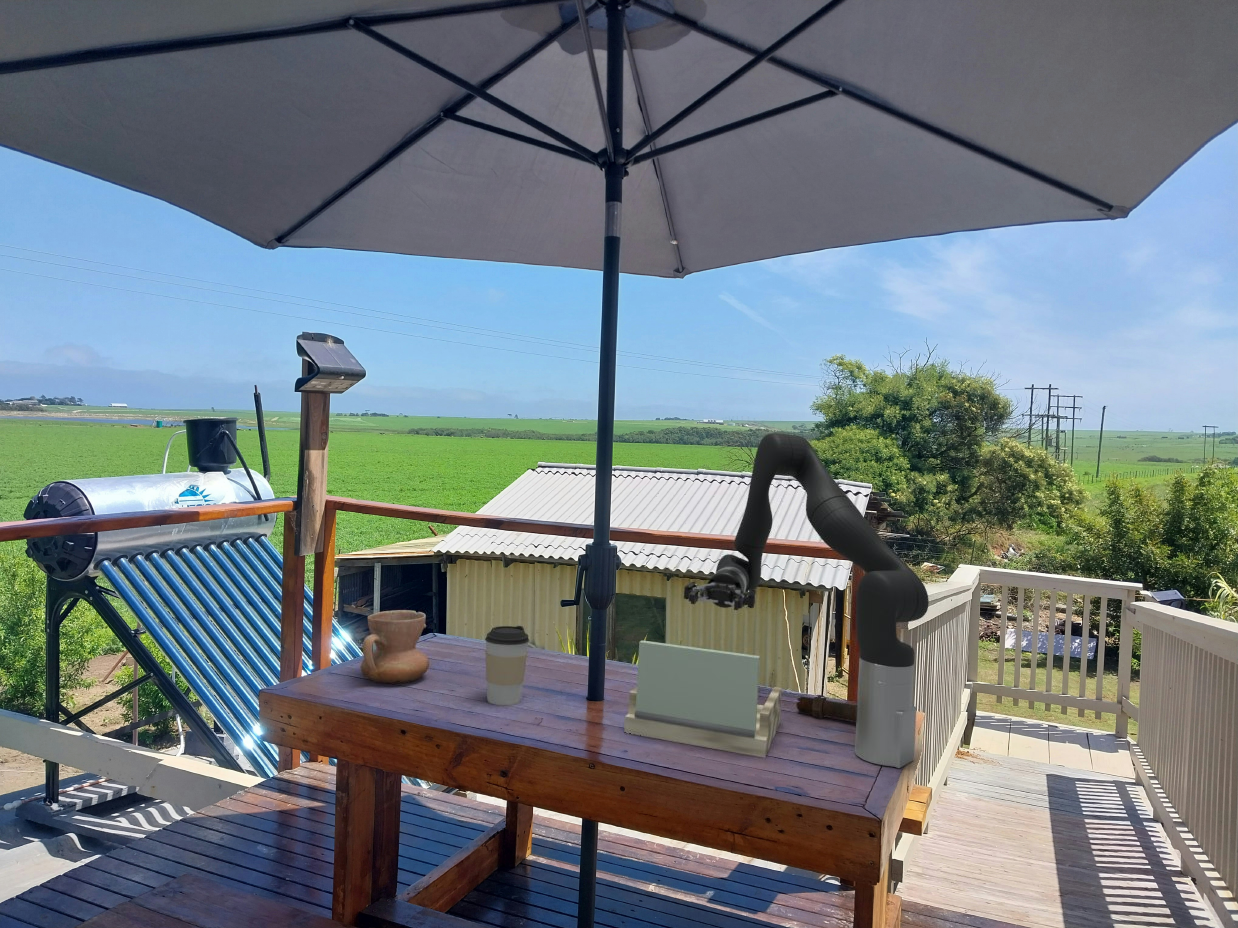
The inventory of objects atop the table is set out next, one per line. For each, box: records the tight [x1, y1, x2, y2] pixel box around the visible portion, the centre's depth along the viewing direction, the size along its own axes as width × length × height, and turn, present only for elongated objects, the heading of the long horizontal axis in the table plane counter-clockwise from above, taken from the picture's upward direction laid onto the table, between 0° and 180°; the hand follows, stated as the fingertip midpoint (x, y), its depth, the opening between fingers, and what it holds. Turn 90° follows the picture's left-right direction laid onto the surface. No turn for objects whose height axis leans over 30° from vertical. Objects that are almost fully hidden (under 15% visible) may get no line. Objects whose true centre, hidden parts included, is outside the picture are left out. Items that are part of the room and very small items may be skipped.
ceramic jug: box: [360, 609, 430, 684], centre depth 164 cm, size 18×14×14 cm
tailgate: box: [634, 640, 761, 738], centre depth 134 cm, size 2×22×14 cm, turn 70°
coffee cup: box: [484, 625, 530, 706], centre depth 154 cm, size 9×9×15 cm
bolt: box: [795, 694, 857, 723], centre depth 153 cm, size 6×5×15 cm
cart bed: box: [623, 686, 783, 759], centre depth 143 cm, size 20×26×7 cm
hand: (714, 601), depth 145 cm, fingers open, 8 cm apart
